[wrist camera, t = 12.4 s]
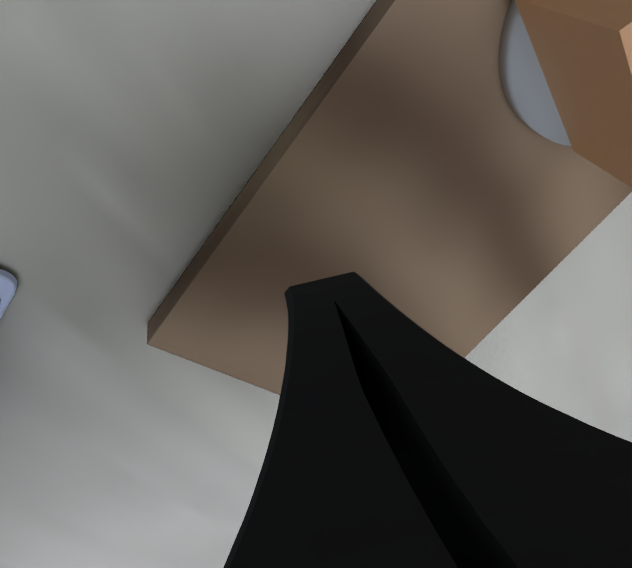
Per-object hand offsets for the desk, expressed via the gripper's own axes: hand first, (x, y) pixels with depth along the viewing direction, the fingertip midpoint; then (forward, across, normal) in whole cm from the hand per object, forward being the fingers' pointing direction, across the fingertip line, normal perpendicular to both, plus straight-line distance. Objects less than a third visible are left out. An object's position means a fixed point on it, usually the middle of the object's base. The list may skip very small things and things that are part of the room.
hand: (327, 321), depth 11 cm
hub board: (+9, -6, +3) cm, 12 cm away
